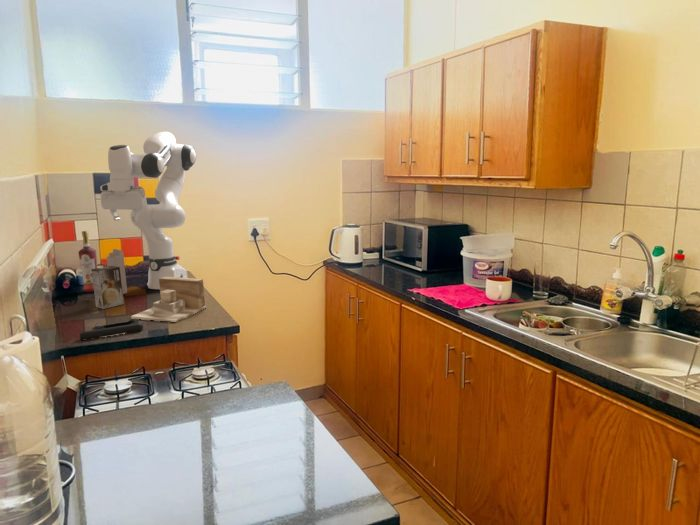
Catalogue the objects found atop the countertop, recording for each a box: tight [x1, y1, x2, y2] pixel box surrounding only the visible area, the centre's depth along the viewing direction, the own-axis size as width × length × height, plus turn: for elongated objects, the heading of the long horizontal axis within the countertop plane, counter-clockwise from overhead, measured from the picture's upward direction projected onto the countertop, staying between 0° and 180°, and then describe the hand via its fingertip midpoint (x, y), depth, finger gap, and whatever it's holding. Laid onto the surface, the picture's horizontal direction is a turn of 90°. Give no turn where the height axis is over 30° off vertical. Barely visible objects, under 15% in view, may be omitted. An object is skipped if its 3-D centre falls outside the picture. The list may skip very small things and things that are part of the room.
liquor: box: [78, 230, 98, 293], centre depth 243 cm, size 7×7×28 cm
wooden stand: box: [130, 277, 207, 322], centre depth 207 cm, size 20×20×12 cm
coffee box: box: [91, 265, 125, 310], centre depth 219 cm, size 9×6×16 cm
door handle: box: [79, 319, 144, 340], centre depth 187 cm, size 3×20×16 cm
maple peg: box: [159, 290, 176, 304], centre depth 207 cm, size 4×4×8 cm
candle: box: [106, 248, 128, 295], centre depth 236 cm, size 7×14×20 cm, turn 159°
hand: (125, 220), depth 216 cm, fingers open, 8 cm apart
